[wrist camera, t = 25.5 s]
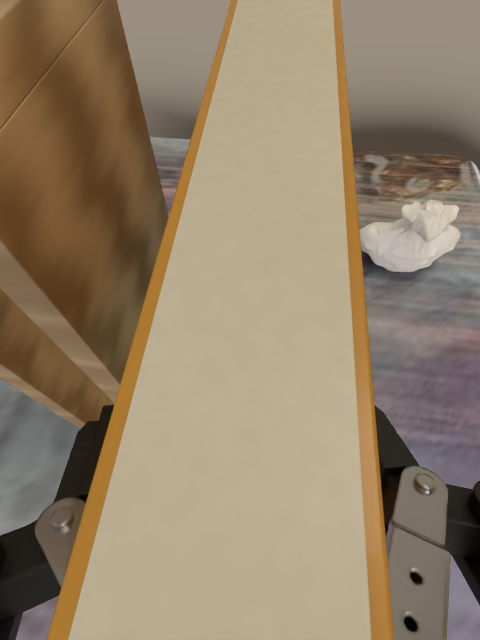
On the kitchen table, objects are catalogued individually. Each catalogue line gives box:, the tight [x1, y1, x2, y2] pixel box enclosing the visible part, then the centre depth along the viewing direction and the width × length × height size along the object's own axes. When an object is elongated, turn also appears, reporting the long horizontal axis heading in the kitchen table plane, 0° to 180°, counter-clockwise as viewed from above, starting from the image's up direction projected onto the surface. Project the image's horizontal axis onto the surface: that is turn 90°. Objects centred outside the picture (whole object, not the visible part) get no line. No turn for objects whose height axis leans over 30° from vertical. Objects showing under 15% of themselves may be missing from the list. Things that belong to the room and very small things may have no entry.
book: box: [47, 0, 394, 640], centre depth 13 cm, size 21×4×11 cm, turn 174°
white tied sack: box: [359, 200, 460, 272], centre depth 42 cm, size 12×8×11 cm
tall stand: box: [0, 0, 169, 429], centre depth 24 cm, size 12×8×32 cm, turn 172°
